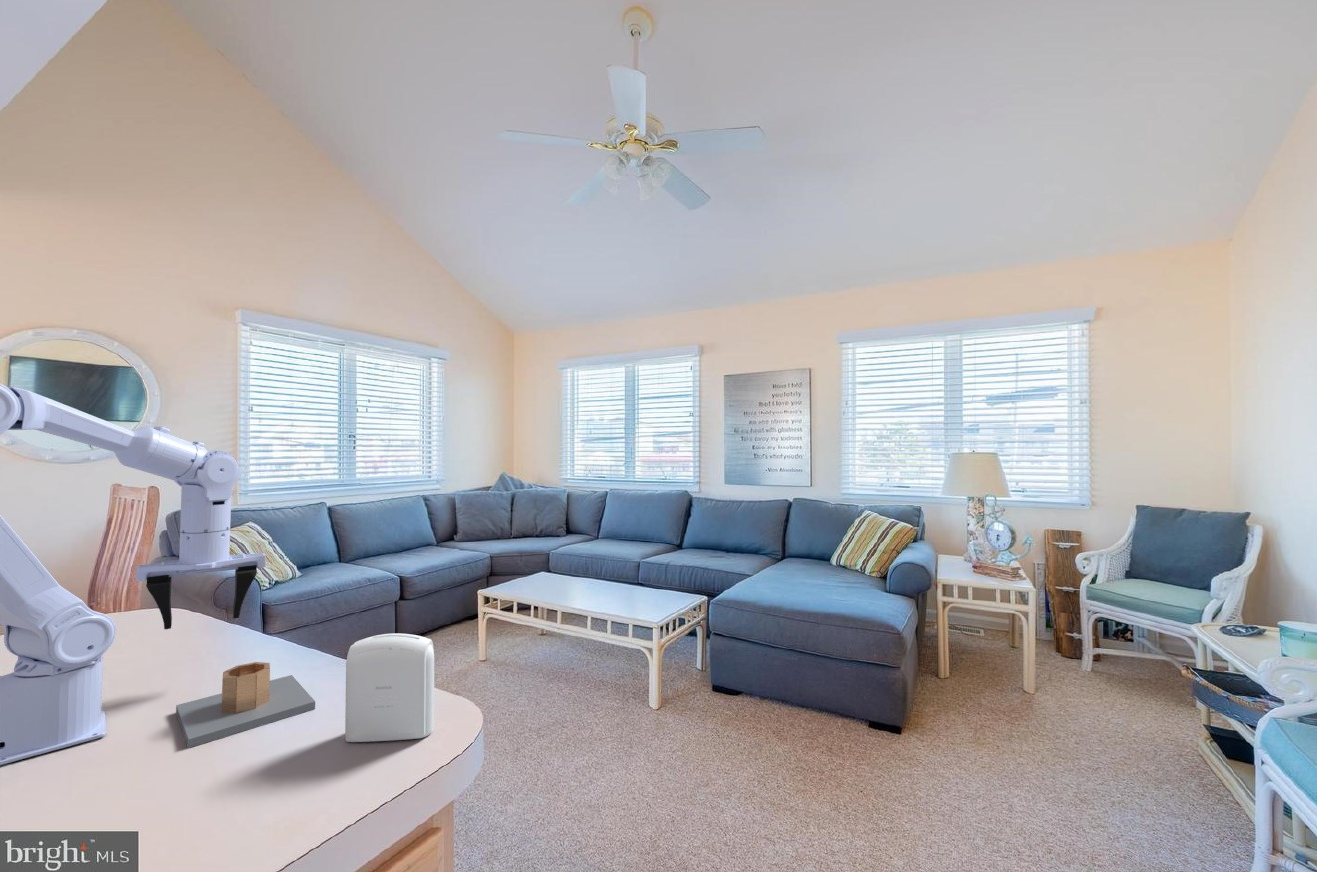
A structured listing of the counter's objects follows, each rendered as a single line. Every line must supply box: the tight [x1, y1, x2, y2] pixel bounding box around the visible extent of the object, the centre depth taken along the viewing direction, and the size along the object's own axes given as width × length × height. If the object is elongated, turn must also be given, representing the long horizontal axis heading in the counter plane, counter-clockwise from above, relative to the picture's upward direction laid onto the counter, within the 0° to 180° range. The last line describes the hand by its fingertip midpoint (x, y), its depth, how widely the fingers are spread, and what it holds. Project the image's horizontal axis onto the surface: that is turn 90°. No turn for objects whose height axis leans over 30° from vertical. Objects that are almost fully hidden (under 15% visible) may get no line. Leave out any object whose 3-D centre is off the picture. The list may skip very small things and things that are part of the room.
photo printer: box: [344, 632, 435, 743], centre depth 66 cm, size 10×4×12 cm, turn 96°
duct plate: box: [175, 674, 316, 749], centre depth 71 cm, size 13×12×4 cm
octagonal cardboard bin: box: [221, 661, 271, 713], centre depth 71 cm, size 5×5×4 cm
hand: (203, 621), depth 79 cm, fingers open, 7 cm apart
